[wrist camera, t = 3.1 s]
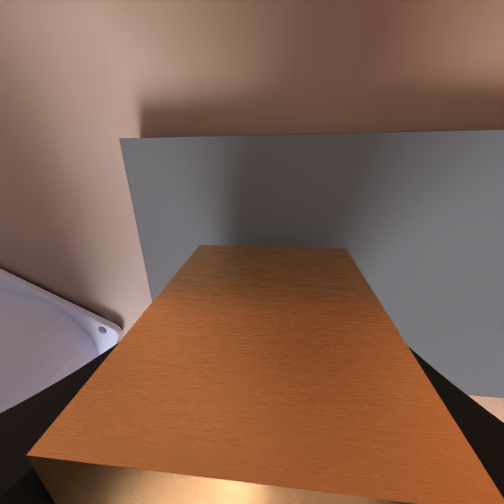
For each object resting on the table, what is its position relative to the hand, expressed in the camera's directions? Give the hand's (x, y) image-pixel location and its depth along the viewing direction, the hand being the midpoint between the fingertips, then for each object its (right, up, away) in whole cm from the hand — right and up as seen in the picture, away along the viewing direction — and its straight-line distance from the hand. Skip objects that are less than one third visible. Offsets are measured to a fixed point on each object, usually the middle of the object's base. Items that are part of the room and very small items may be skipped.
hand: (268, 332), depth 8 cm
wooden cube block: (0, +1, +1) cm, 1 cm away
